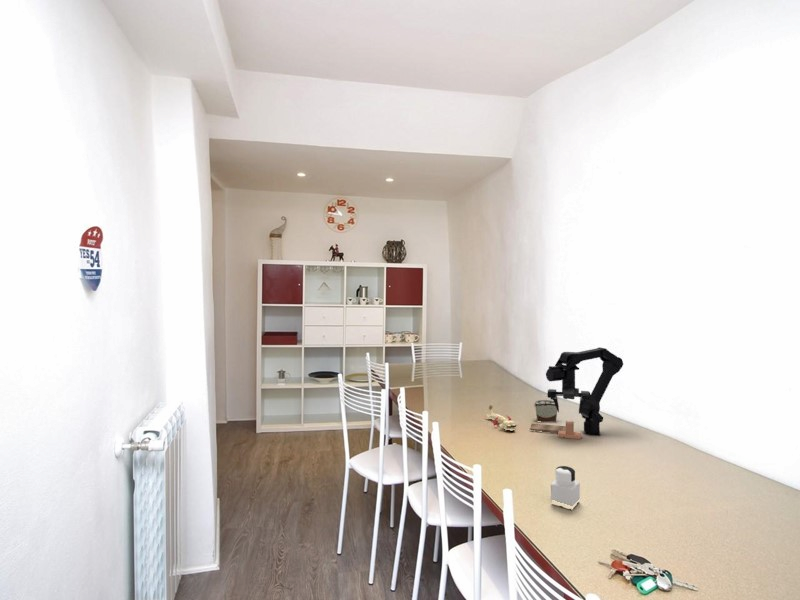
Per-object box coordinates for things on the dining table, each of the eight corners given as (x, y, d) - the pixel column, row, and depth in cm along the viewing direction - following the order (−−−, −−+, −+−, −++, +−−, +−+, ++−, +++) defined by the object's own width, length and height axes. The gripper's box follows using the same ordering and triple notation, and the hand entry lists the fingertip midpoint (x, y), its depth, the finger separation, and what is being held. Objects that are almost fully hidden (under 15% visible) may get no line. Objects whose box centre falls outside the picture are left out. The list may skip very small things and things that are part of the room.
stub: (581, 435, 220) (581, 422, 220) (581, 439, 216) (581, 425, 215) (558, 433, 224) (558, 420, 223) (558, 437, 219) (558, 423, 219)
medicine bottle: (558, 496, 162) (558, 462, 161) (580, 502, 157) (579, 467, 157) (550, 504, 156) (550, 469, 156) (572, 511, 152) (572, 474, 151)
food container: (556, 418, 247) (556, 399, 247) (559, 422, 241) (558, 402, 241) (532, 418, 249) (532, 399, 248) (534, 422, 242) (534, 402, 242)
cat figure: (481, 422, 249) (503, 433, 225) (480, 405, 249) (502, 414, 225) (498, 420, 252) (522, 431, 228) (497, 403, 252) (521, 412, 228)
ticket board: (566, 429, 230) (566, 426, 230) (566, 434, 223) (566, 431, 223) (530, 426, 236) (530, 423, 236) (529, 431, 228) (529, 428, 228)
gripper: (546, 382, 215) (547, 416, 216) (591, 384, 209) (591, 419, 209) (547, 377, 225) (548, 409, 226) (589, 379, 219) (590, 412, 220)
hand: (568, 412), depth 220 cm, fingers open, 9 cm apart
